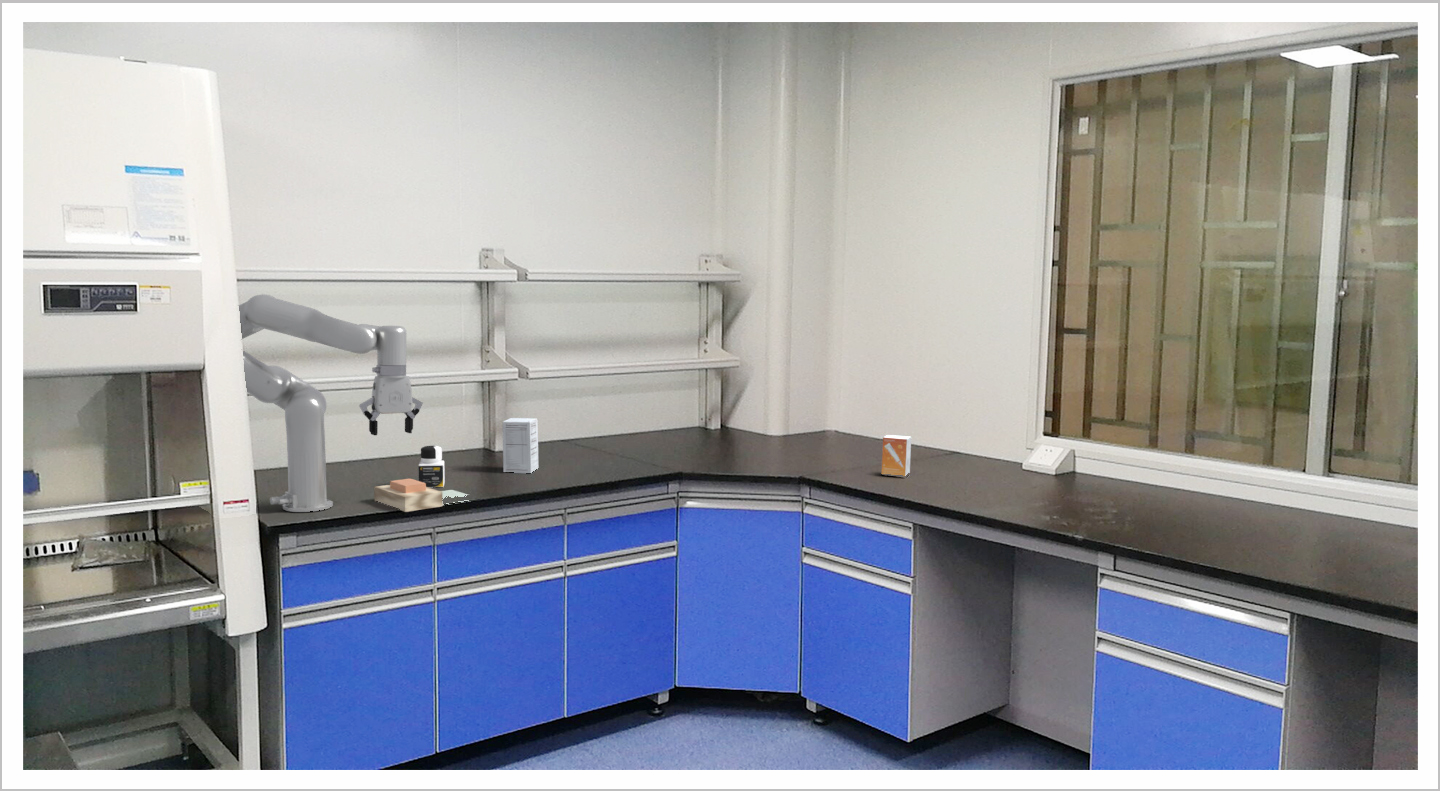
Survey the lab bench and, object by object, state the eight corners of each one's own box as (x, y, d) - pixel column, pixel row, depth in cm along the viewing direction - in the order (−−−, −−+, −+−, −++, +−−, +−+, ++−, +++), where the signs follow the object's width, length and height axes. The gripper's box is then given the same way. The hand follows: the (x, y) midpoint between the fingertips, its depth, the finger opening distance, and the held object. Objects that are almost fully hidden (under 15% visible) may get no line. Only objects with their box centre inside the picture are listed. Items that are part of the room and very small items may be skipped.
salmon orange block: (425, 490, 293) (425, 483, 293) (405, 493, 289) (405, 486, 289) (410, 485, 300) (410, 478, 300) (390, 488, 296) (390, 481, 295)
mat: (442, 505, 293) (442, 504, 293) (414, 496, 305) (414, 494, 305) (480, 499, 302) (480, 498, 301) (451, 490, 313) (451, 489, 313)
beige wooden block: (405, 511, 285) (405, 497, 284) (374, 500, 298) (374, 486, 297) (442, 506, 292) (442, 491, 292) (410, 495, 305) (410, 481, 305)
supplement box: (539, 468, 350) (539, 418, 348) (531, 474, 341) (531, 421, 339) (510, 468, 351) (510, 417, 349) (502, 473, 342) (501, 421, 340)
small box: (881, 476, 346) (882, 436, 344) (885, 473, 352) (887, 434, 350) (905, 478, 343) (907, 438, 341) (910, 475, 349) (911, 436, 347)
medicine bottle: (418, 488, 315) (417, 448, 314) (420, 483, 322) (419, 444, 321) (443, 488, 317) (442, 448, 315) (444, 483, 324) (444, 444, 322)
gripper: (365, 373, 281) (365, 437, 283) (427, 371, 292) (427, 433, 294) (355, 370, 287) (354, 433, 289) (416, 369, 298) (415, 430, 300)
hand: (391, 433), depth 292 cm, fingers open, 9 cm apart
